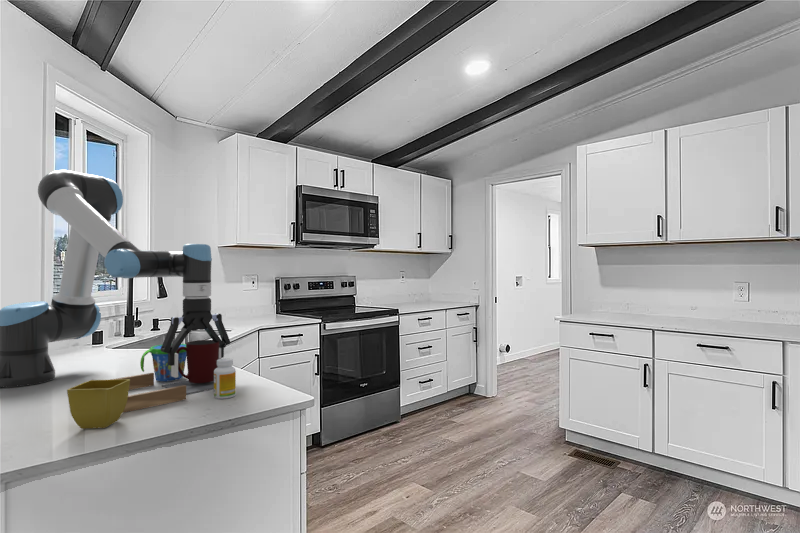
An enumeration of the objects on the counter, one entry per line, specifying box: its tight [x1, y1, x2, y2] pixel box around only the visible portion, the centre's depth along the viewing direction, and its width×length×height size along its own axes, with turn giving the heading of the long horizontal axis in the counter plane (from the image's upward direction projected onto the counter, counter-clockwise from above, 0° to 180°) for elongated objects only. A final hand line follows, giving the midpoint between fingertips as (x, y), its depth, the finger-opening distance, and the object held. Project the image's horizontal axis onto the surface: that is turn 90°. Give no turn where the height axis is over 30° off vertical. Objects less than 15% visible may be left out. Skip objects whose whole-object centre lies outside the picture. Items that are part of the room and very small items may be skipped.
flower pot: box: [66, 379, 130, 430], centre depth 100 cm, size 9×9×9 cm
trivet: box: [161, 379, 214, 396], centre depth 133 cm, size 14×14×1 cm
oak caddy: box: [109, 372, 187, 414], centre depth 120 cm, size 22×18×4 cm
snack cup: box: [140, 343, 187, 383], centre depth 141 cm, size 16×10×10 cm
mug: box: [176, 339, 219, 383], centre depth 133 cm, size 12×9×11 cm
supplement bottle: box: [213, 357, 237, 400], centre depth 122 cm, size 5×5×10 cm
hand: (197, 373), depth 133 cm, fingers closed on mug, 12 cm apart
